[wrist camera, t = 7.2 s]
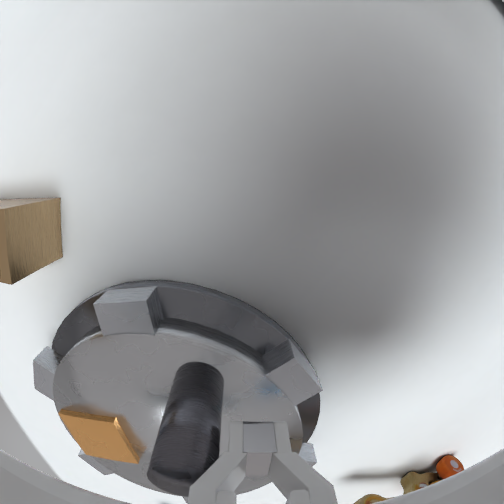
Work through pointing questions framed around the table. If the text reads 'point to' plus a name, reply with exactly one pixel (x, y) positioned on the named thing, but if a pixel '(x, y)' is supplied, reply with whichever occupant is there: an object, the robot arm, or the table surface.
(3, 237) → the wooden block
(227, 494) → the robot arm
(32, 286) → the table surface
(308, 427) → the sprocket base
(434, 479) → the toy helicopter
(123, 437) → the sprocket
